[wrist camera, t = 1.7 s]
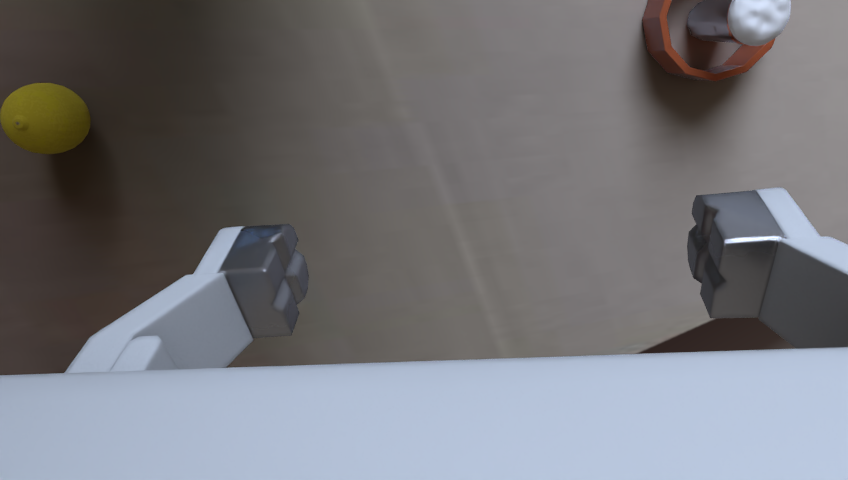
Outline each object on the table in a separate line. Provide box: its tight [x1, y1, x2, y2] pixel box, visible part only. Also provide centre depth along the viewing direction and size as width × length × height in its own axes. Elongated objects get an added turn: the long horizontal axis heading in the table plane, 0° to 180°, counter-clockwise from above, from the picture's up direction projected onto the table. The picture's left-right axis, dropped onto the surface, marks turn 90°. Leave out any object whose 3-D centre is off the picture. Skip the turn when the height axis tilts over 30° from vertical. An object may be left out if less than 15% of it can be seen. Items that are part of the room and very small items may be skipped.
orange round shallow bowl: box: [642, 0, 775, 81], centre depth 50 cm, size 10×10×4 cm
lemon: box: [0, 83, 91, 154], centre depth 48 cm, size 6×6×8 cm
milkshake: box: [687, 0, 791, 46], centre depth 47 cm, size 4×5×10 cm
